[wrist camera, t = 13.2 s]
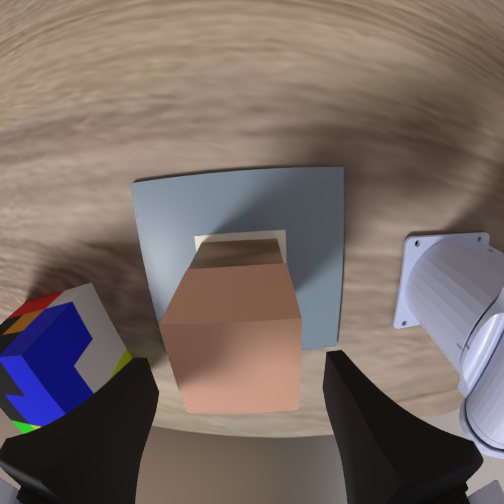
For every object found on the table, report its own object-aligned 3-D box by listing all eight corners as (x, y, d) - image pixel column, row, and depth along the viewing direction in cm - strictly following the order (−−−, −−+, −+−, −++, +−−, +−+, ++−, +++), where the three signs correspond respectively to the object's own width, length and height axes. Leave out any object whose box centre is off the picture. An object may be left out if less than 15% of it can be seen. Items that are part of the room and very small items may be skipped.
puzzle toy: (92, 281, 21) (21, 355, 12) (143, 374, 24) (110, 459, 15) (25, 302, 22) (-35, 359, 13) (72, 379, 25) (34, 444, 16)
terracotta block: (286, 262, 14) (302, 318, 10) (287, 343, 16) (298, 409, 11) (186, 269, 15) (159, 324, 10) (201, 347, 16) (186, 412, 12)
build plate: (342, 166, 18) (344, 166, 18) (334, 343, 23) (336, 346, 22) (132, 182, 18) (130, 183, 18) (167, 351, 23) (166, 355, 23)
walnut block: (277, 238, 19) (285, 268, 15) (278, 304, 21) (285, 347, 16) (201, 242, 19) (185, 273, 15) (209, 307, 21) (199, 350, 16)
